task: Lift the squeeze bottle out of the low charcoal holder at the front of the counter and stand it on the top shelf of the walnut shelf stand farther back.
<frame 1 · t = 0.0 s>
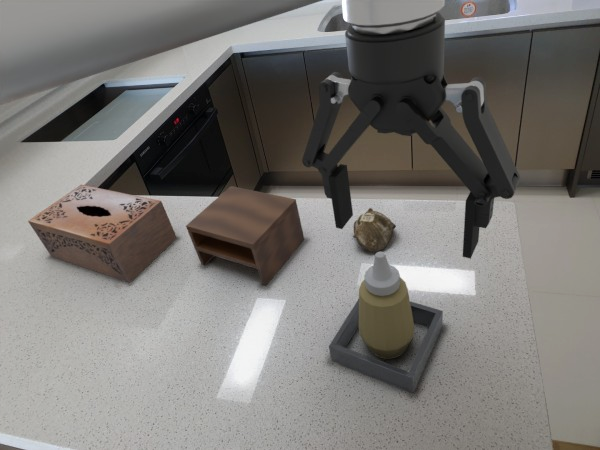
hand: (403, 234, 48), 27 cm above the table, tool pointing down, fingers open, 13 cm apart
holder: (387, 343, 69), on the table
shelf stand: (253, 252, 92), on the table
fossilized seashell: (374, 239, 89), on the table
squeeze bottle: (387, 344, 70), resting in holder
tissue box cover: (113, 247, 102), on the table
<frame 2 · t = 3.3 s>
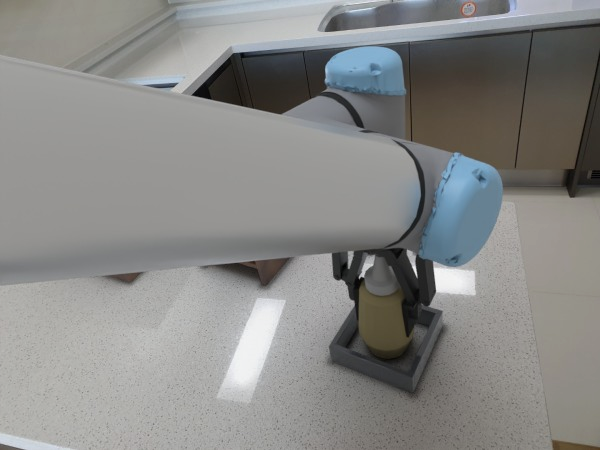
hand: (385, 321, 66), 5 cm above the table, tool pointing down, fingers closed on squeeze bottle, 6 cm apart
squeeze bottle: (387, 344, 70), resting in holder, touching gripper
everything else where it was.
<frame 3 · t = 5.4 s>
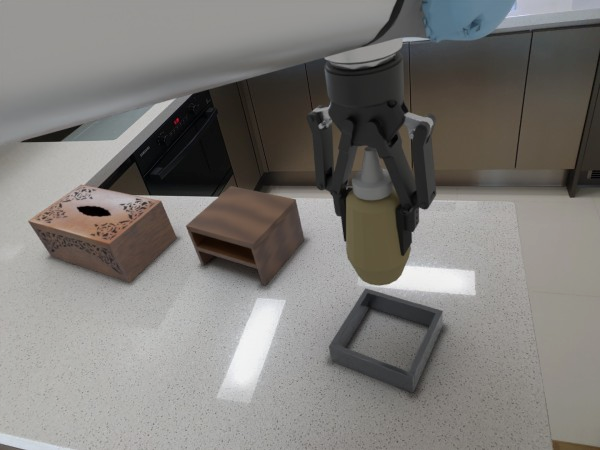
hand: (377, 241, 57), 20 cm above the table, tool pointing down, fingers closed on squeeze bottle, 6 cm apart
squeeze bottle: (379, 271, 60), point 15 cm above the table, touching gripper
everything else where it was.
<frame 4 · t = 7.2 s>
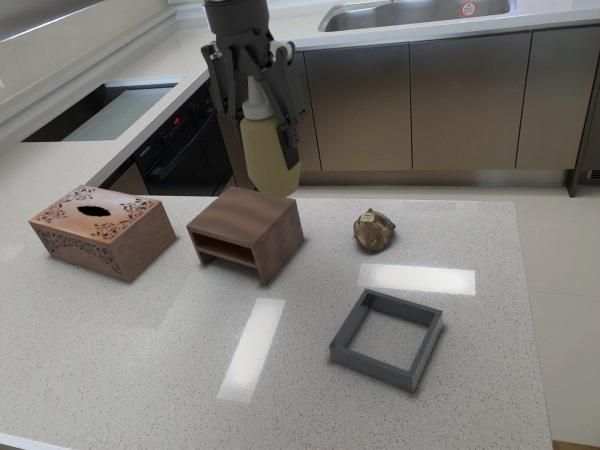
hand: (272, 161, 68), 25 cm above the table, tool pointing down, fingers closed on squeeze bottle, 6 cm apart
squeeze bottle: (279, 190, 71), point 20 cm above the table, touching gripper
everything else where it was.
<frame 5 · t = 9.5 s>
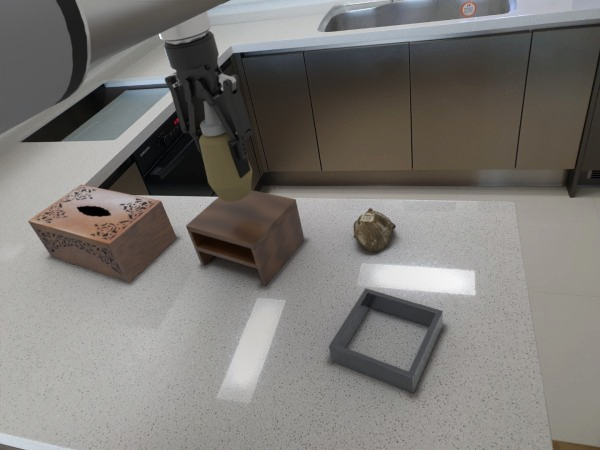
hand: (228, 170, 81), 19 cm above the table, tool pointing down, fingers closed on squeeze bottle, 6 cm apart
squeeze bottle: (235, 194, 84), point 14 cm above the table, touching gripper
everything else where it was.
when the fingers open (15 cm above the table, at t = 11.0 s): squeeze bottle stays where it is, resting on shelf stand.
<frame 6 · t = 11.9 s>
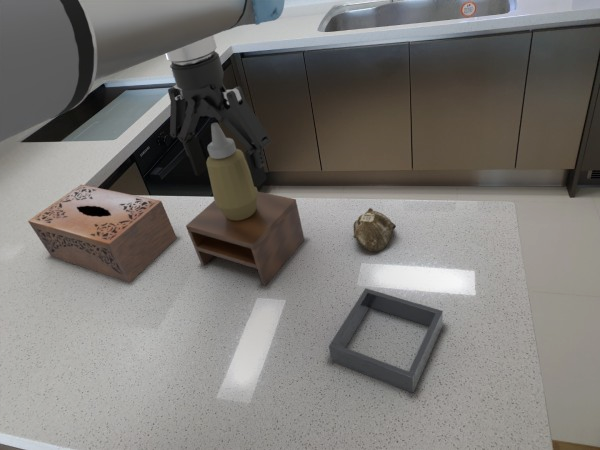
hand: (229, 177, 82), 18 cm above the table, tool pointing down, fingers open, 13 cm apart
squeeze bottle: (241, 212, 86), point 10 cm above the table, touching shelf stand
everything else where it was.
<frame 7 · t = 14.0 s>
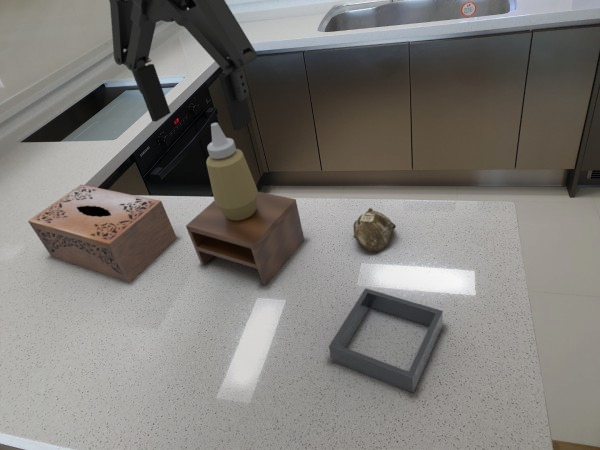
hand: (199, 121, 57), 36 cm above the table, tool pointing down, fingers open, 13 cm apart
nothing on the table moved.
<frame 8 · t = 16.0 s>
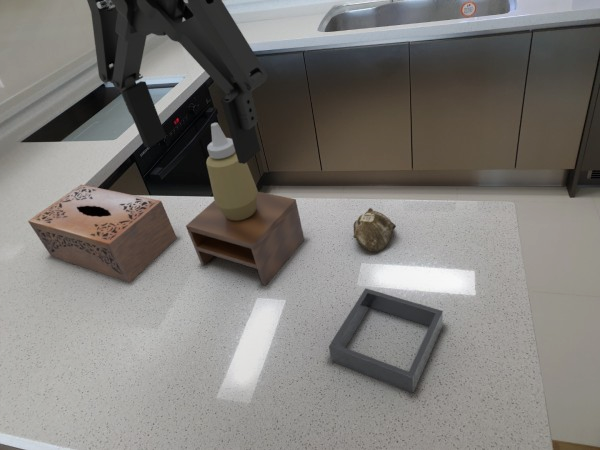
hand: (199, 149, 49), 37 cm above the table, tool pointing down, fingers open, 13 cm apart
nothing on the table moved.
at the end: squeeze bottle inside the target area on the shelf stand (0.1 cm from its centre), point 9.8 cm above the shelf stand's base; squeeze bottle tilted 0°; the gripper is holding nothing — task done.
